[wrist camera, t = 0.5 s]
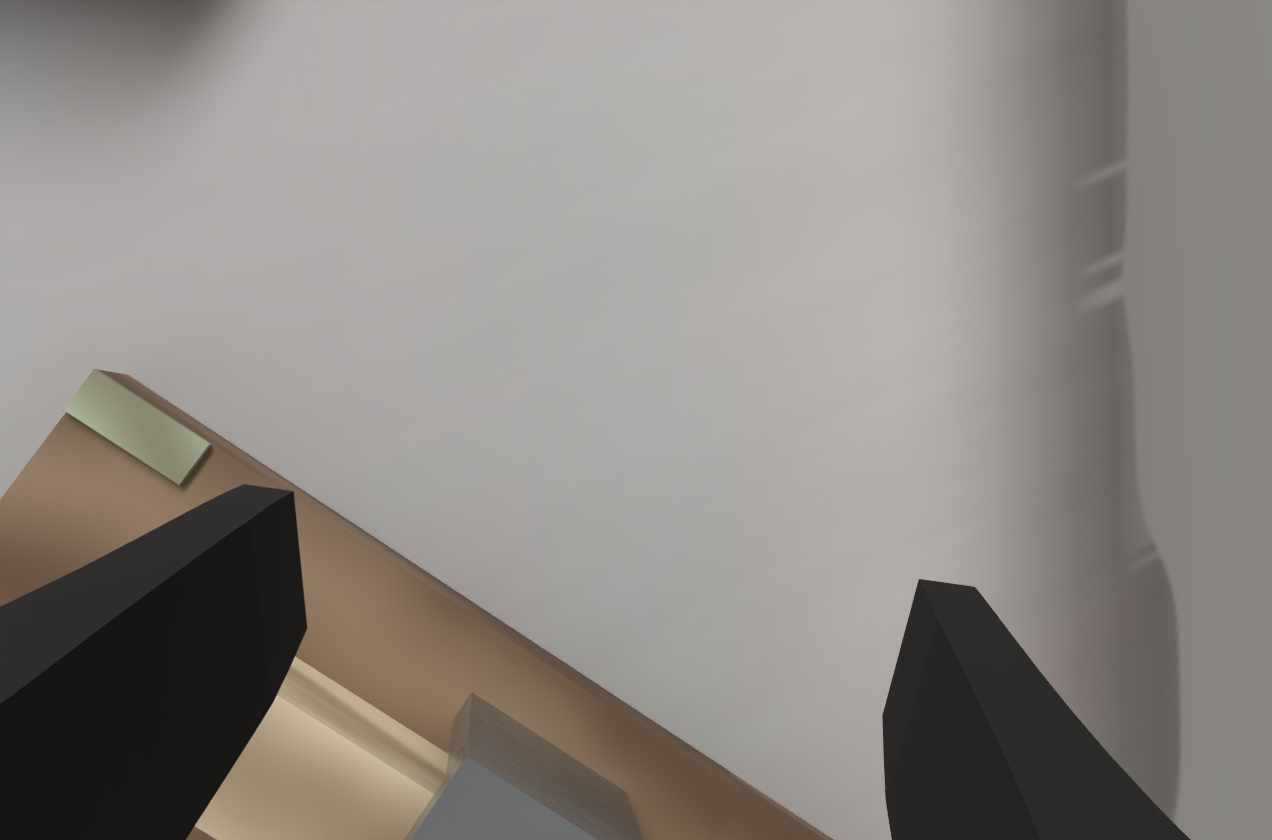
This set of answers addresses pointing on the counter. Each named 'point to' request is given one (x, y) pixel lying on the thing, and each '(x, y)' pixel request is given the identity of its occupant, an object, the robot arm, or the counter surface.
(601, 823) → the metal u-shaped holder
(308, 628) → the walnut deck
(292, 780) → the ash block
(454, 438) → the counter surface
